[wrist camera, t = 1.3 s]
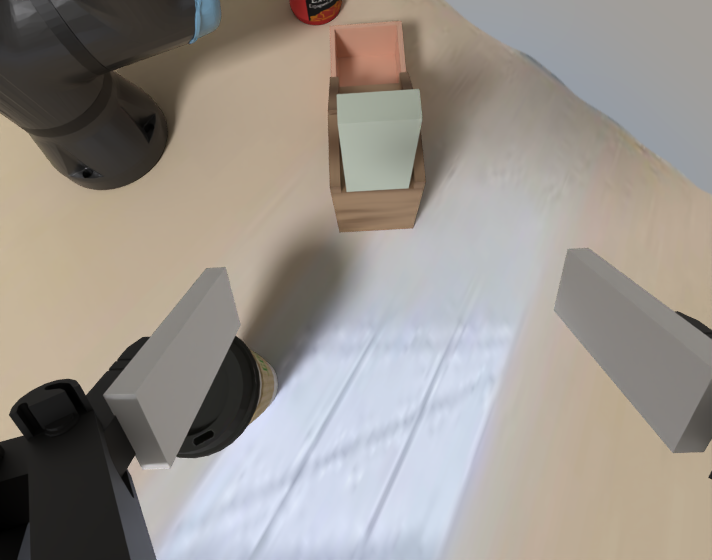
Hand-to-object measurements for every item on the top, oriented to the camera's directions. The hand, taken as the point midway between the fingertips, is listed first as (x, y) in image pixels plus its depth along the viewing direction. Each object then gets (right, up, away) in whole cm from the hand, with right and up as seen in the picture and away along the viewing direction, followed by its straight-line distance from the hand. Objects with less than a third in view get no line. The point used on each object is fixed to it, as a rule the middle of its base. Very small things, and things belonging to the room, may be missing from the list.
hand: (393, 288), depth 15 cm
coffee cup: (-13, -12, +27) cm, 32 cm away
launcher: (+1, +14, +33) cm, 36 cm away
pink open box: (0, +27, +36) cm, 45 cm away
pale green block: (+1, +10, +22) cm, 24 cm away
